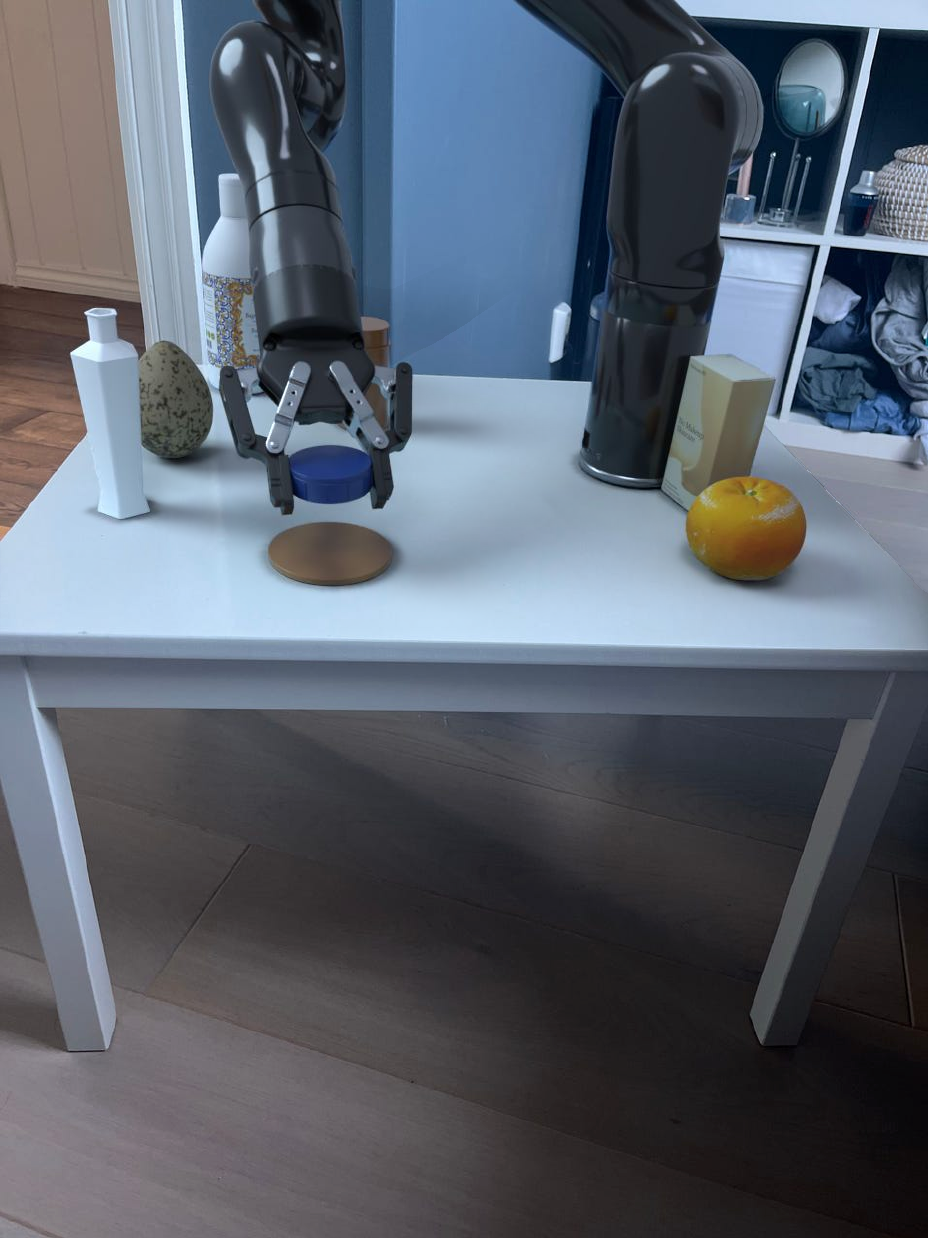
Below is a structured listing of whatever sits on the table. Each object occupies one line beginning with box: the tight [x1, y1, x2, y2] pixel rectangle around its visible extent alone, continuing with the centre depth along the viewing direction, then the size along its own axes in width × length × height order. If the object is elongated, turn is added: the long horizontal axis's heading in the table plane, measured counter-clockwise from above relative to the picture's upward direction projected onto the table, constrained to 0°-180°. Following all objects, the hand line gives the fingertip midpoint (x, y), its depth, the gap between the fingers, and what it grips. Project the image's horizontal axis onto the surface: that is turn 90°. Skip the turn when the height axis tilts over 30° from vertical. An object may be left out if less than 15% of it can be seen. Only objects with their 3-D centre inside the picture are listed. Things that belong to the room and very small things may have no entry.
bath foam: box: [201, 173, 264, 395], centre depth 96 cm, size 7×7×20 cm
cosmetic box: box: [661, 353, 777, 512], centre depth 81 cm, size 6×4×12 cm
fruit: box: [685, 476, 808, 581], centre depth 73 cm, size 8×8×8 cm
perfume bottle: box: [69, 307, 151, 520], centre depth 71 cm, size 5×4×15 cm
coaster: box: [267, 521, 393, 586], centre depth 71 cm, size 9×9×1 cm
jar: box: [337, 316, 392, 430], centre depth 92 cm, size 5×5×10 cm
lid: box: [288, 444, 373, 505], centre depth 68 cm, size 6×6×2 cm
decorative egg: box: [138, 340, 214, 459], centre depth 82 cm, size 7×7×10 cm
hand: (334, 507), depth 68 cm, fingers closed on lid, 6 cm apart
